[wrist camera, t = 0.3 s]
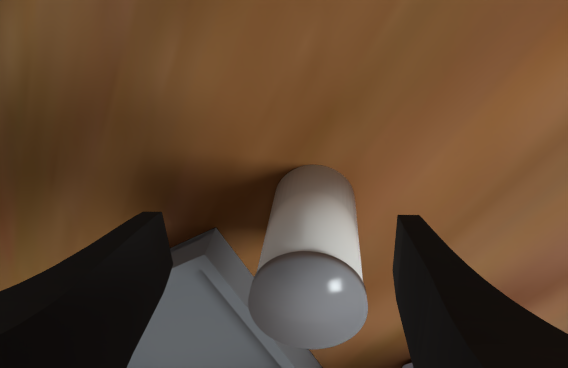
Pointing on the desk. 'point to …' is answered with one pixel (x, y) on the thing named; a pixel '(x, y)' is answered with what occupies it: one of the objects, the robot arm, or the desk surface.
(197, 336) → the tray
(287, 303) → the shaker
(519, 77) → the desk surface
